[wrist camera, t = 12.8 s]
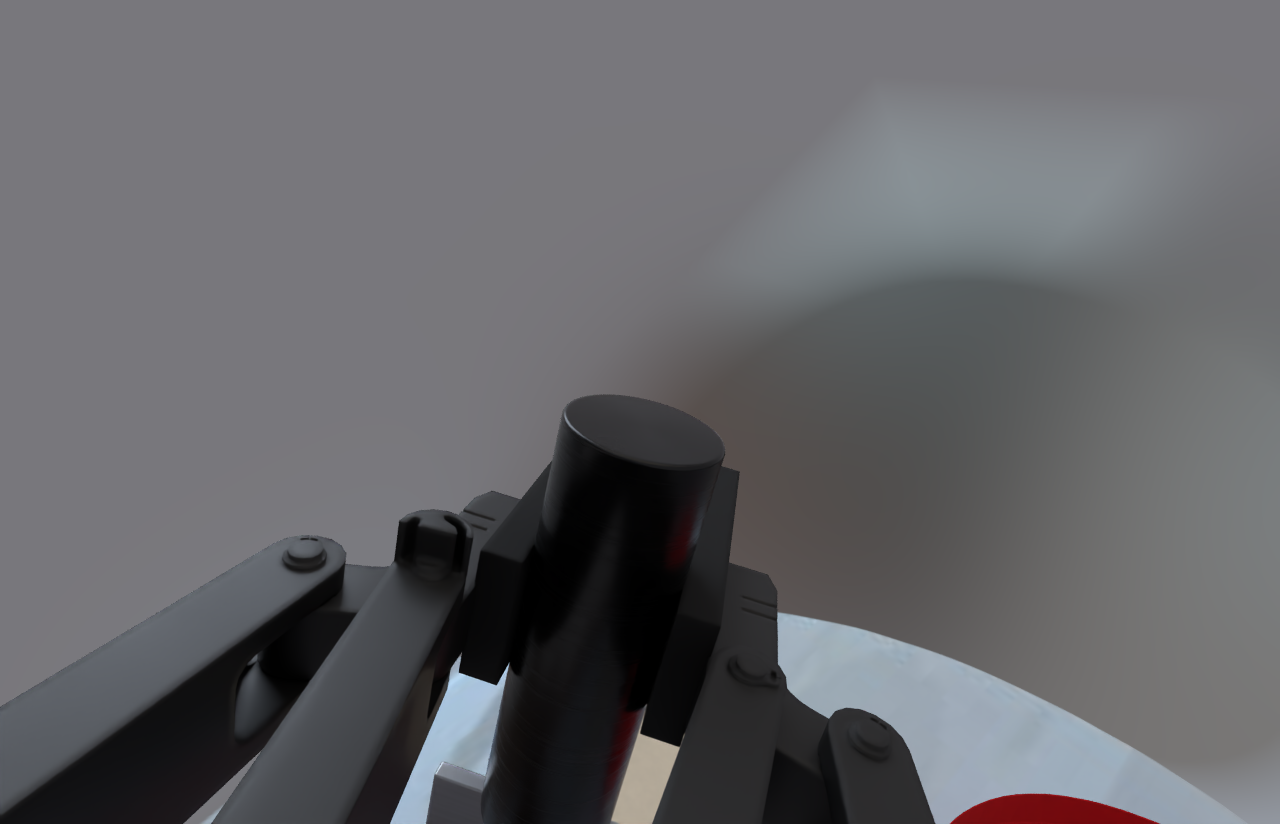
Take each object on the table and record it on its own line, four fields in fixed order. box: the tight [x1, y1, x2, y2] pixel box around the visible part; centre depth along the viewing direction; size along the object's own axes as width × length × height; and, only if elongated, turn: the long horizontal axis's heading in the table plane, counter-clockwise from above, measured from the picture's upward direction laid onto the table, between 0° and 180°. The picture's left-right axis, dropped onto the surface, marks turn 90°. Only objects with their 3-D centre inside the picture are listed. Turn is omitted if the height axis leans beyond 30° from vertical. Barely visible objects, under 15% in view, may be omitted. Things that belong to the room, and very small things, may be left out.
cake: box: [611, 713, 684, 824], centre depth 39 cm, size 10×12×6 cm
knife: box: [426, 395, 725, 824], centre depth 15 cm, size 3×5×19 cm, turn 79°
